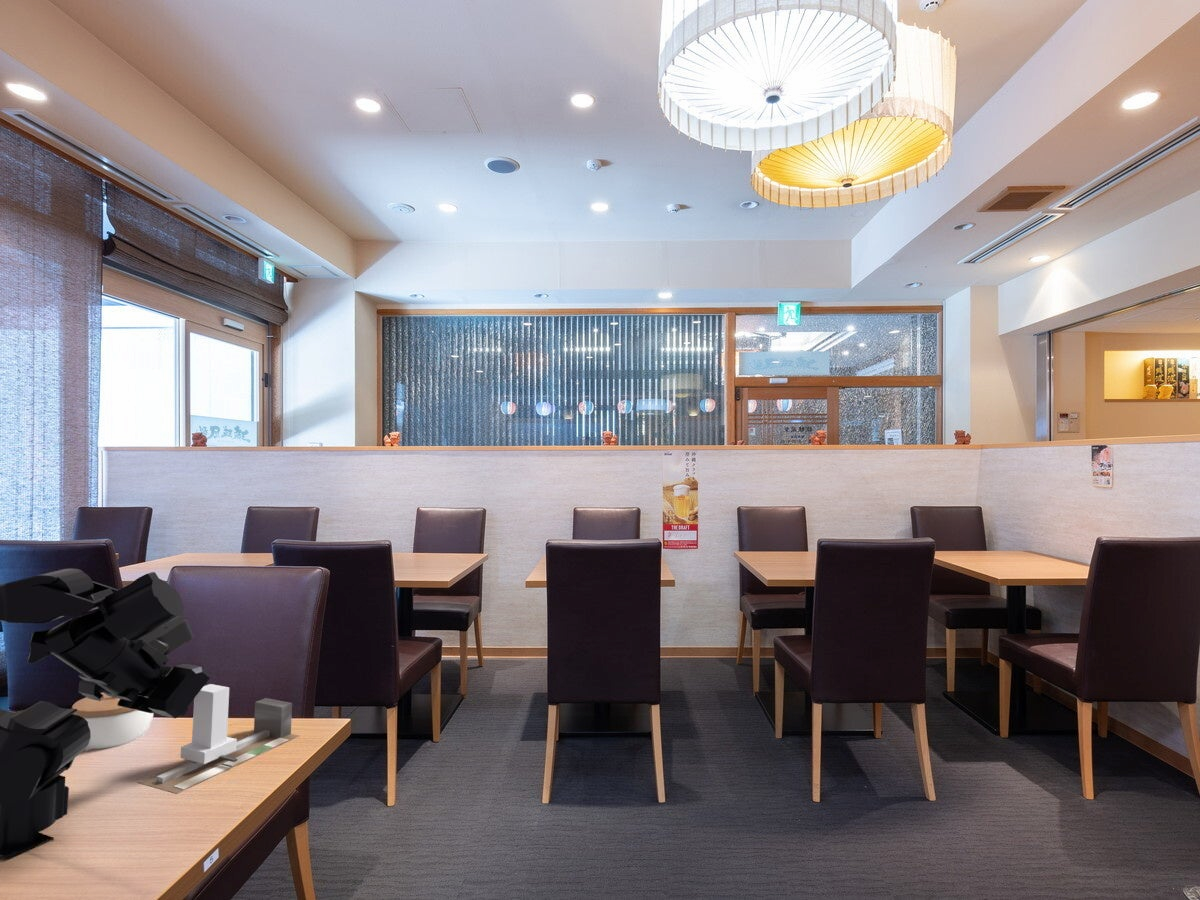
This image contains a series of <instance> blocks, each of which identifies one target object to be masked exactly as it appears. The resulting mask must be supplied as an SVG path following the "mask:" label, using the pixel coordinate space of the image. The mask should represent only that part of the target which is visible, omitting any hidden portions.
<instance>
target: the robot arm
mask: <svg viewBox="0 0 1200 900" xmlns="http://www.w3.org/2000/svg"><path fill="white" fill-rule="evenodd" d="M96 609H98V610H97V611H94V610H96ZM92 611H94V612H92ZM184 611H185V610H184V602H183V600H182V597H181V596H180V594H179V592H178V591H177V590H176V588H173V587H172V586H171V585H170V584H169V583H168V582H166V581H165V580H163V579H161V578H159V576H158V574H157V573H156V571H151V572H148V573H145V574H144V575H141V576H139V577H138V578H136V579H135V580H133V582H131V583H130V584H128V585H125V586H123V587H122V588H119V589H117V588H114V587H112V586H110V585H109V586H108V585H107V584H102V583H100V582H96V581H93V580H92V578H91V577H90V576H89V575H88V574H87V573H85V572H84V571H83V570H81V569H78V568H63V569H58V570H55V571H50V572H47V573H43V574H37V575H33V576H30V577H25V578H22V579H17V580H14V581H10V582H5V583H1V584H0V622H3V623H7V624H8V623H9V624H12V623H13V624H45V623H49V622H52V621H56V620H58V619H61V618H63V617H72V618H70V619H68V620H66V621H64V622H62V623H60V624H58V625H57V626H54V627H52V628H49V629H46V630H35V631H33V632H32V634H31V638H30V641H29V649H30V650H29V651H30V652H29V656H28V658H27V663H28V664H29V665H30V664H31V665H33V664H35V663H37V662H39V661H41V660H43V659H45V658H46V657H49V656H51V655H53V656H55V657H56V658H58V659H59V660H61V661H62V662H63V663H65V664H66V665H68V666H70V667H71V668H73V669H74V670H76V671H77V672H78V673H79V674H78V675H77V677H79V678H80V679H81V680H79V682H78V693H79V694H81V695H82V696H84V697H85V698H86V697H87V698H89V699H93V700H97V701H101V700H102V699H103V698H104V695H102V694H101V693H104V694H106V695H107V696H111V697H115V698H120V700H119V702H118V706H121V707H125V708H130V709H136V710H138V711H143V712H147V713H154V714H158V715H160V716H163V717H166V718H167V717H168V718H172V719H177V718H178V717H184V716H186V714H187V712H188V711H189V710H190V709H189V706H190V704H191V703H192V702H194V698H195V697H196V695H197V694H198V693H199V692H200V690H201V689H202V688H203V686H206V685H207V683H208V681H209V680H210V679H211V673H210V672H208V671H207V670H206V669H205V668H204V667H202V666H200V665H193V664H188V663H182V664H178V665H174V666H173V667H171V666H167V664H168V663H169V661H170V660H171V659H170V658H169V657H167V655H170V654H171V653H172V652H174V651H175V650H177V649H178V648H180V647H181V646H182V645H185V644H186V643H189V642H190V641H192V640H193V639H194V635H193V632H192V629H191V628H190V625H189V623H188V621H187V618H186V617H182V615H183V614H184ZM89 612H92V613H89ZM86 613H87V614H86ZM88 613H89V614H88ZM84 614H86V615H84ZM102 688H103V689H104V690H103V691H102V692H100V690H101V689H102ZM75 712H77V709H72V708H63V707H60V706H58V705H56V704H54V703H52V702H49V701H44V700H41V701H39V702H37V703H35V704H33V705H31V706H30V707H28V708H26V709H24V710H22V711H18V712H17V711H15V712H14V711H7V710H4V709H1V708H0V859H1V860H6V859H9V858H12V857H14V856H16V855H19V854H22V853H23V852H25V851H28V850H29V849H32V848H35V847H36V846H38V845H41V844H43V843H45V842H48V841H50V840H51V839H52V840H53V839H54V837H53V836H50V835H47V834H44V833H42V831H44V830H46V829H48V828H49V827H51V826H53V824H55V822H56V821H58V820H60V819H62V818H63V817H64V816H66V815H68V812H69V811H68V809H69V808H68V807H69V796H70V793H69V792H70V787H69V786H66V776H64V775H61V774H62V773H63V774H64V773H65V772H66V771H68V770H69V769H70V768H71V767H72V765H73V762H74V761H75V758H77V757H78V756H79V755H80V754H82V753H83V752H84V751H86V750H85V748H86V747H87V746H88V744H89V741H90V738H91V736H90V728H89V726H88V721H86V720H85V719H84V718H83V717H81V716H79V715H75V714H74V713H75Z"/></svg>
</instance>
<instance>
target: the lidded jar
mask: <svg viewBox="0 0 1200 900" xmlns="http://www.w3.org/2000/svg"><path fill="white" fill-rule="evenodd" d="M100 693H101V694H102V695H104V698H103V699H102V700H101V701H97V700H93V699H89V698H87V697H86V696H85V697H83V698H81V699H79V700H77V701H76V702H75V703H74V704H73V705H71V709H77V712H75V713H74V714H75V715H79V716H81V717H83V718H84V719H85V720H86V721H88V726H89V728H90V736H91V738H90V741H89V744H88V746H87V747H86V748H85V750H84V751H86V752H87V751H90V750H101V749H109V748H114V747H118V746H122V745H126V744H128V743H131V742H132V743H133V742H134V741H136V740H138V739H140V738H142V737H143V736H144V735H145V734H146V733H147V732H148V730H149V728H150V726H151V724H152V722H153V718H154V714H155V713H147V712H143V711H138V710H136V709H130V708H125V707H121V706H118V702H119V700H120V698H115V697H111V696H107V695H106V694H104V693H103V692H100Z"/></svg>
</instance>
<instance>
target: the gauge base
mask: <svg viewBox="0 0 1200 900" xmlns="http://www.w3.org/2000/svg"><path fill="white" fill-rule="evenodd" d="M292 714H293V702H289V701H285V700H283V701H282V700H278V699H273V698H269V697H264V698H262V699H260V700H257V701H254V719H253V720H254V722H253V732H252V733H250V734H247V735H245V736H243V737H240V738H238V739H237V746H236V750H235V751H233V752H230V753H228V754H226V755H224V756H228V757H233V758H237V761H236V762H231V761H227V760H223V759H219V758H217V759H215V760H212V761H210V762H208V763H206V764H202V763H198V762H194V761H190V760H186V761H183V762H182V763H180V764H177V765H175V766H173V767H170V768H168V769H166V770H163V771H160V772H157V773H156V774H154V775H151V776H149V777H147V778H144V779H142V780H140V781H137V783H138V784H141V785H144V786H147V787H151V788H154V789H158V790H162V791H164V792H169V793H172V794H175V795H177V794H180V793H182V792H184V791H186V790H188V789H190V788H192V787H195V786H197V785H199V784H201V783H204V782H206V781H208V780H209V779H211V778H213V777H216V776H218V775H219V774H222V773H225V772H226V771H229V770H231V769H233V768H235V767H238V766H239V765H241V764H243V763H246V762H248V761H249V760H252V759H254V758H257V757H258V756H261V755H263V754H265V753H267V752H269V751H271V750H273V749H276V748H278V747H279V746H282V745H285V744H286V743H288V742H290V741H292V740H295V739H297V738H299V737H300V735H298V734H294V733H292V718H293V717H292V716H293V715H292Z"/></svg>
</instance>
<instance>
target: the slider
mask: <svg viewBox="0 0 1200 900" xmlns="http://www.w3.org/2000/svg"><path fill="white" fill-rule="evenodd" d="M229 700H230V687H228V686H223V685H218V684H213V683H209V684H205V685H204V686H203V688H202V689H201V690H200V692H199V693H198V694H197V695H196V697H195V698H194V699H193V712H192V713H193V718H192V733H191V734H192V736H191V738H192V739H191V742H190V743H187V744H185V745H182V746H180V759H183V760H186V761H189V760H190V761H194V762H198V763H202V764H206V763H208V762H210V761H212V760H215V759H217V758H219V759H223V760H227V761H231V762H236V761H237V758H233V757H228V756H224V755H226V754H228V753H230V752H233V751H235V750H236V746H237V740H238V739H237V738H233V737H230V736H228V725H229V724H228V722H229V705H230V704H229V703H230V701H229Z"/></svg>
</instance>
